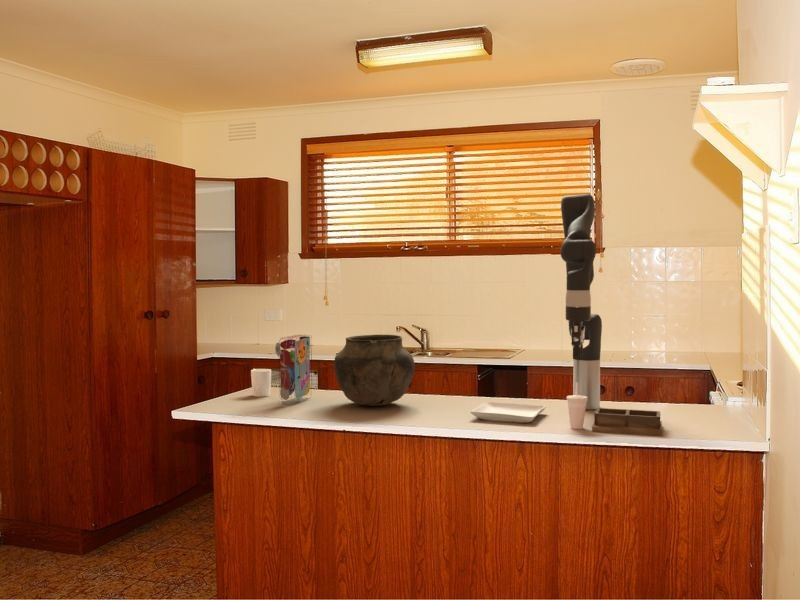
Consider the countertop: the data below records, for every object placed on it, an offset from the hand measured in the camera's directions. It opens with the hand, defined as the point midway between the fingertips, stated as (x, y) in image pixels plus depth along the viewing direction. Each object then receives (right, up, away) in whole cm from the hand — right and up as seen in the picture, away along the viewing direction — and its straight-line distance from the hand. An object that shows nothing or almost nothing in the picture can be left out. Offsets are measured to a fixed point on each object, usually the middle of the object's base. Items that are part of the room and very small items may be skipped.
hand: (577, 357), depth 231 cm
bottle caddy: (+15, -22, 0) cm, 27 cm away
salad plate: (-19, -22, +19) cm, 34 cm away
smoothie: (0, -22, +1) cm, 22 cm away
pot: (-64, -21, +41) cm, 78 cm away
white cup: (-109, -20, +63) cm, 128 cm away
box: (-95, -21, +46) cm, 107 cm away
